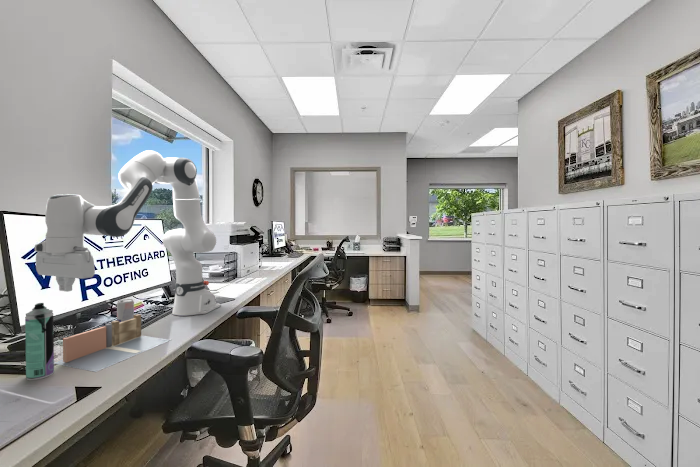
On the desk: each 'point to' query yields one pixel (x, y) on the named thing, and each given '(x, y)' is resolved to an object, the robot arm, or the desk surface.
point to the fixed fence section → (126, 330)
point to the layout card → (114, 354)
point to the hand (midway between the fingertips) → (65, 290)
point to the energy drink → (125, 310)
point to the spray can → (39, 342)
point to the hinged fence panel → (87, 343)
